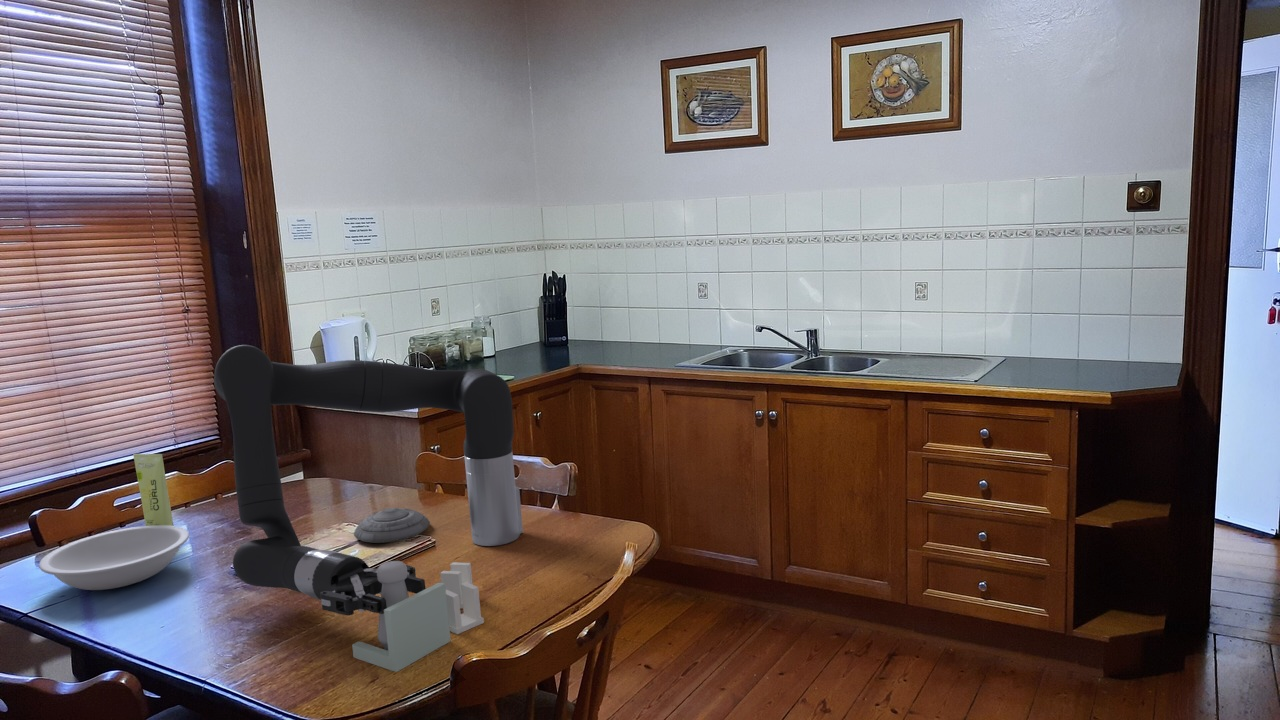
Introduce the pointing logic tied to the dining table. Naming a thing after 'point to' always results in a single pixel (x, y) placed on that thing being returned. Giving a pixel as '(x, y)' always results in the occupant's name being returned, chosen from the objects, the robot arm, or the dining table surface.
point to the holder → (410, 630)
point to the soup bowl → (115, 557)
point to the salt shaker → (391, 591)
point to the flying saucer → (391, 525)
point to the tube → (153, 489)
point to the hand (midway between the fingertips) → (404, 596)
